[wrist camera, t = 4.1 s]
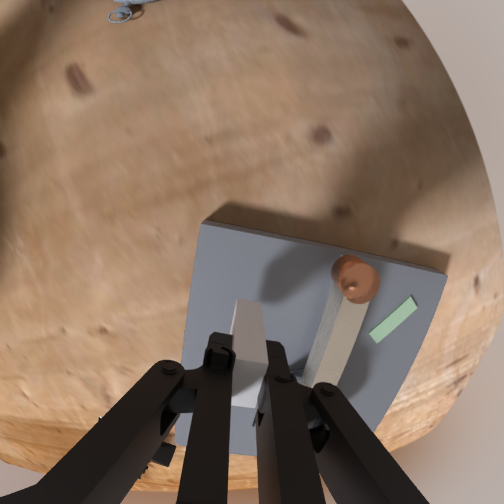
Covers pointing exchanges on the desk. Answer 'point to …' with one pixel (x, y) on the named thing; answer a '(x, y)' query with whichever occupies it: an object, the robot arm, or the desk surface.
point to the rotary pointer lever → (340, 320)
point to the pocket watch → (126, 9)
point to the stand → (305, 314)
